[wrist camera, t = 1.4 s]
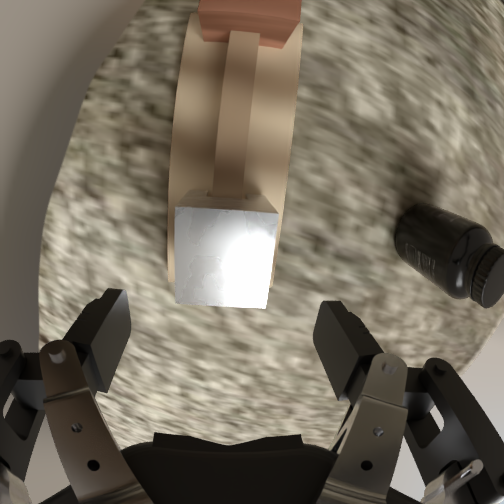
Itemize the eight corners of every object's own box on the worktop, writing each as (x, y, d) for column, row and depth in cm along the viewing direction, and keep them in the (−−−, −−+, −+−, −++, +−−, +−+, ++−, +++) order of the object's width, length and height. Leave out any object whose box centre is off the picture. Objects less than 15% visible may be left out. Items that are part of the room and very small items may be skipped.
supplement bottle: (430, 262, 26) (500, 316, 15) (387, 262, 26) (460, 327, 15) (444, 205, 24) (526, 242, 13) (400, 197, 23) (492, 237, 12)
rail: (192, 19, 16) (181, -22, 9) (298, 30, 17) (325, -6, 10) (171, 273, 24) (154, 318, 17) (269, 279, 25) (283, 325, 19)
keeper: (189, 189, 20) (175, 206, 14) (264, 195, 20) (278, 213, 15) (187, 263, 22) (175, 303, 16) (255, 267, 22) (265, 308, 17)
